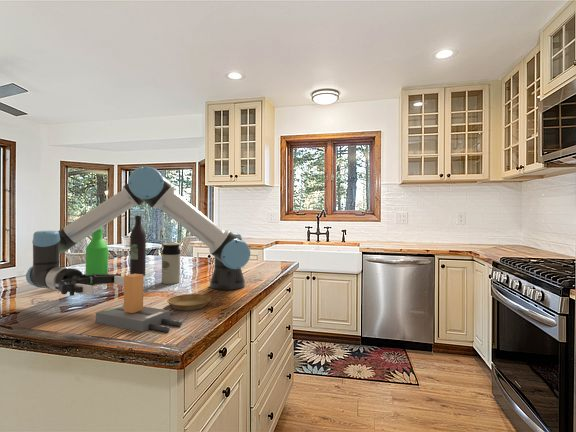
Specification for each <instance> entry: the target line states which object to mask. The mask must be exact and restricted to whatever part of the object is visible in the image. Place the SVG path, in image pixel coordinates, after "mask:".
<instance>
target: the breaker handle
mask: <svg viewBox="0 0 576 432" xmlns="http://www.w3.org/2000/svg"><path fill="white" fill-rule="evenodd" d="M123 277H124V285H123V304H124V312H128V313H135V312H138V311H141V310H143V306H144V276H143V274H130V273H129V274H125V275H124V276H123Z"/></svg>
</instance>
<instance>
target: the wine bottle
mask: <svg viewBox="0 0 576 432" xmlns="http://www.w3.org/2000/svg"><path fill="white" fill-rule="evenodd" d="M134 219H135V222H134V227H133V229H132V230H131V232H130V237H129V238H130V239H129V240H130V241H129V242H130V243H129V245H130V246H129V275H130V274H143V277H145V276H146V261H147V260H146V258H147V257H146V255H147V254H146V251H147V247H146V246H147V244H146V243H147V242H146V241H147V240H146V239H147V238H146V236H147V235H146V232H145V230H144V228H143V225H142V216H141V215H135V216H134Z"/></svg>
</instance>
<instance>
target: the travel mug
mask: <svg viewBox="0 0 576 432" xmlns="http://www.w3.org/2000/svg"><path fill="white" fill-rule="evenodd" d="M180 244H181V243H180V242H162V246H163V248H162V249H161V284H164V285H175V284H178V283H180V281H181V249H180Z"/></svg>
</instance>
